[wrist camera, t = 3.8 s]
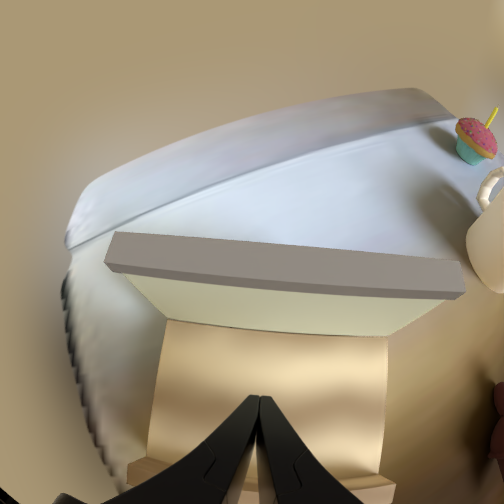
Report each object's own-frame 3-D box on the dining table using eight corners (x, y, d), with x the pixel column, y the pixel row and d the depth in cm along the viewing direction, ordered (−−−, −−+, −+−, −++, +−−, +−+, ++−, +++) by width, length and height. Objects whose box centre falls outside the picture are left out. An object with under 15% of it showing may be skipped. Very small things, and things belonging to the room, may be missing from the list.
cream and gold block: (357, 478, 16) (391, 502, 9) (162, 463, 17) (126, 483, 11) (368, 347, 21) (405, 326, 15) (181, 331, 23) (153, 305, 16)
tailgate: (390, 338, 18) (466, 292, 10) (164, 320, 19) (103, 262, 11) (389, 318, 19) (459, 261, 11) (168, 299, 20) (114, 231, 12)
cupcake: (461, 138, 37) (484, 89, 27) (491, 170, 33) (520, 122, 23) (438, 142, 36) (464, 85, 25) (472, 178, 32) (506, 122, 21)
